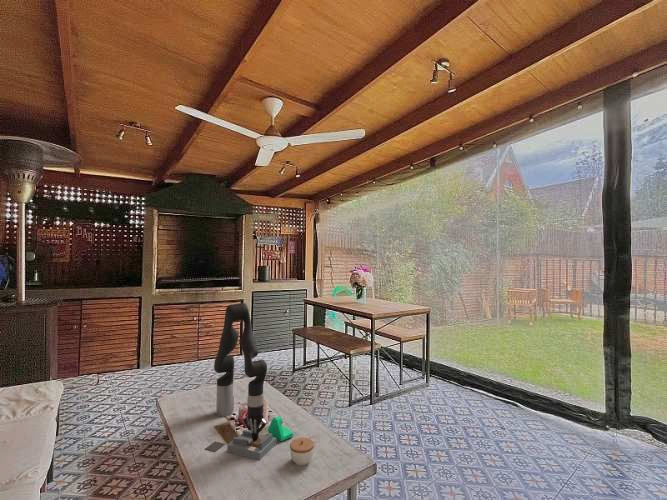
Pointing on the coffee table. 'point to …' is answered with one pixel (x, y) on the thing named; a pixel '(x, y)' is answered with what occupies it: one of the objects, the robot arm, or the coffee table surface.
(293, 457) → the lidded jar
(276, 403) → the coffee table surface
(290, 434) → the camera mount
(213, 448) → the mat
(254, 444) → the block
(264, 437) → the rail board
